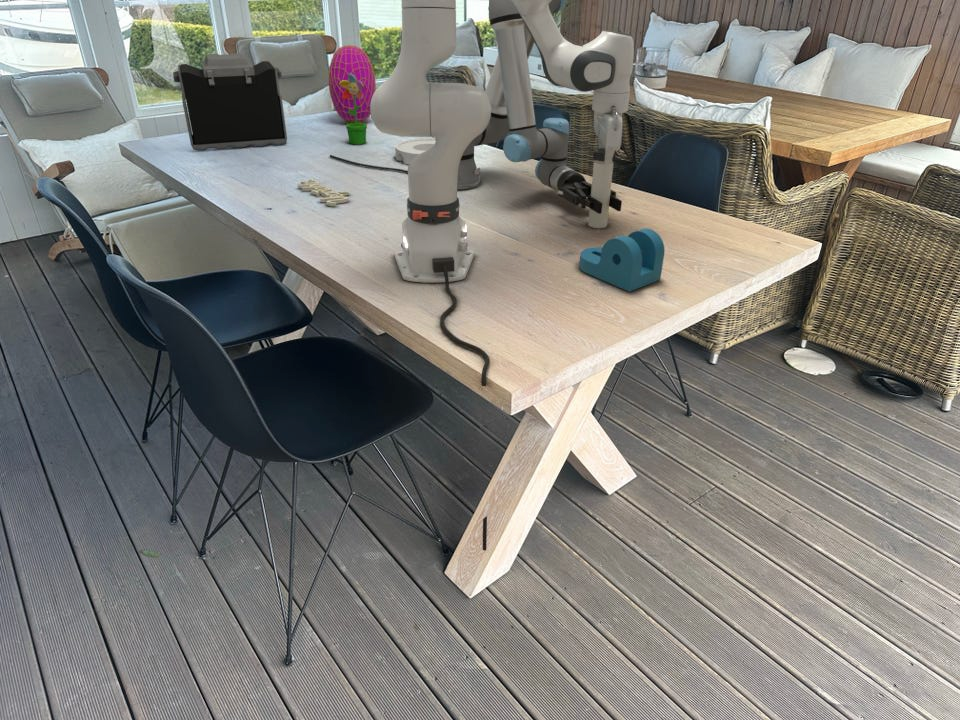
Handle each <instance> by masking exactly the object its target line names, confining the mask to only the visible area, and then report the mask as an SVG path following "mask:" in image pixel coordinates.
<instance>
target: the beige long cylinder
mask: <svg viewBox="0 0 960 720" xmlns="http://www.w3.org/2000/svg"><path fill="white" fill-rule="evenodd" d="M613 171H614V160H613V161H612V164H611V165H605V164H604V162H603V161H597V160H594V161H593V166H592V177H591V184H592V188H591V197H593V198H594V199H596V200H598V201H599V202H601V203H602V212H601V214H598V213H597V212H595V211H593V210H592V209H590V208H589V210H588V211H589V212H588V223H587V225H588V227H591V228H593V229H603V228H607V227H608V219H609V210H610V206H609V202H610V192H611V190H612V181H613Z"/></svg>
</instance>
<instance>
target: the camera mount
mask: <svg viewBox="0 0 960 720" xmlns="http://www.w3.org/2000/svg"><path fill="white" fill-rule="evenodd" d="M664 258H665V245H664V241H663V239H662V238H661V236H660V234H659V233H658V232H657V231H655V230H654V229H651V228H641V229H638V230H635V231H632V232H630V233H629V234H628V235H620V236H617V237H612V238H610V239H608V240H606V241H605V242H604V244H603V245H602V246H593V247H588V248H584V249H583V250H581V251H580V253H579V264H578V268H579V270H581V271H582V272H583V273H584V274H588V275H589V276H591V277H594V278H597V279H599V280H601V281H603V282H606V283H608V284H611V285H612V286H615V287H617V288H619V289H622V290H624V291H627V292H632V291H635V290H638V289H640V288H642V287H645V286H648V285H651V284H653V283H655V282H659V281H660V280H661V278H662V271H663V266H664Z"/></svg>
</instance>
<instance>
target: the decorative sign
mask: <svg viewBox="0 0 960 720" xmlns="http://www.w3.org/2000/svg"><path fill="white" fill-rule="evenodd" d="M297 187H298V189H301V191H303V192H310V193H311V195H314V196H316V197H319V196H320V195H321V197H319V202H320V203H326V206H327V207H328V206H329V207H337V204H344V203H348V202H349V201H350V200H349V197H348V196H349V195H350V191H349V190H341V191H340V190H335V189H332V188H331V187H329V186H326V185H324V184H323V183H320V182H318V180H315V179H313V178H311V179H307V180H305V181H304V180H300V183H299V184H297Z"/></svg>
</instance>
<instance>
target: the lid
mask: <svg viewBox="0 0 960 720" xmlns="http://www.w3.org/2000/svg"><path fill="white" fill-rule="evenodd" d="M592 154H593V156H592V158H593V160H594V161H595V160H597V161H603V162H604V156H605V149H599V148H596V149H594V150H593V153H592ZM615 159H616V151H615V152H614V155H613V158H612V161H613V162H614V161H615Z"/></svg>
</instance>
